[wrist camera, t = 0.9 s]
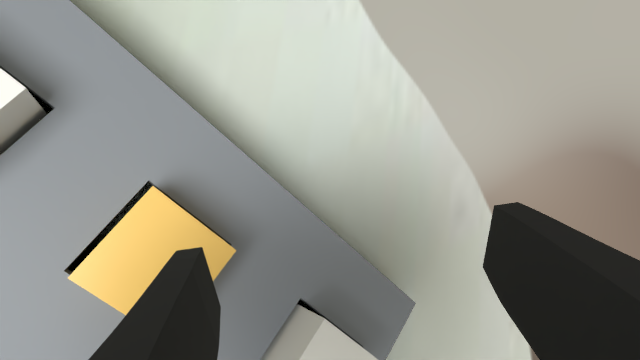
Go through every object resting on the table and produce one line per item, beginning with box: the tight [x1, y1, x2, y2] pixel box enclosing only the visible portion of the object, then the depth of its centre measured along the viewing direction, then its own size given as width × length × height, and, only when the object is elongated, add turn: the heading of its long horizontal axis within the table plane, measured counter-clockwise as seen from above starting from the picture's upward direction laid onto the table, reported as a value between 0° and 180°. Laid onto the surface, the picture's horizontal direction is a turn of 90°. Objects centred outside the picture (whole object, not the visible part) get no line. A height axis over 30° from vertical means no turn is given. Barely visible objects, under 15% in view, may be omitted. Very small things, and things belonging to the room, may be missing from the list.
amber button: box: [68, 186, 236, 315], centre depth 15 cm, size 4×4×4 cm
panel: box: [0, 0, 416, 360], centre depth 18 cm, size 12×26×4 cm, turn 51°
